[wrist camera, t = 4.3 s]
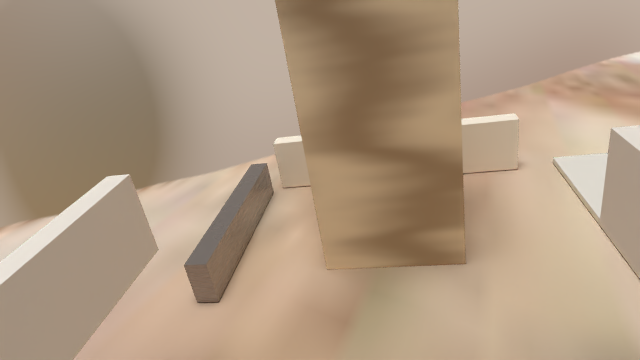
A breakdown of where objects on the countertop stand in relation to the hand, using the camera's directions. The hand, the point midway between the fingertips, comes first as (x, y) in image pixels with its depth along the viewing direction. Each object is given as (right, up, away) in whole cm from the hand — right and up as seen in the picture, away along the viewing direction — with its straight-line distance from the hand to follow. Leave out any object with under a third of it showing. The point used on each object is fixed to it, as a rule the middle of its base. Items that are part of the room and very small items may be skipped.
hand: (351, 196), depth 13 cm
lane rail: (+4, +1, +15) cm, 15 cm away
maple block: (+3, -2, +10) cm, 10 cm away
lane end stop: (-5, -3, +11) cm, 13 cm away
